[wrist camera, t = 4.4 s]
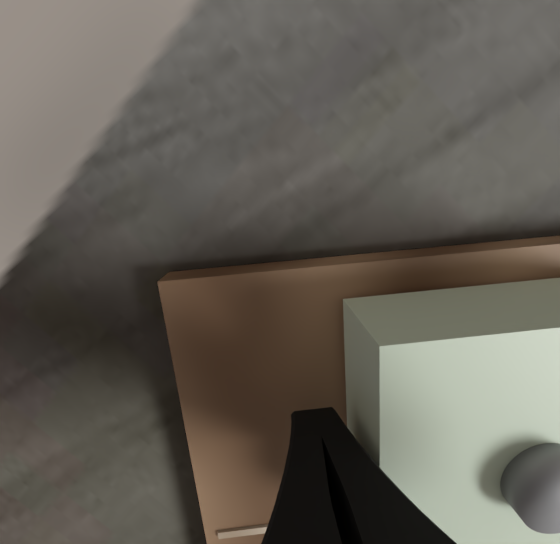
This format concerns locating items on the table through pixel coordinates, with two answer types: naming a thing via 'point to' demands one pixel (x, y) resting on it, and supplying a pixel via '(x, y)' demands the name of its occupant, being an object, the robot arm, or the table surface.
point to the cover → (463, 404)
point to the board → (291, 355)
